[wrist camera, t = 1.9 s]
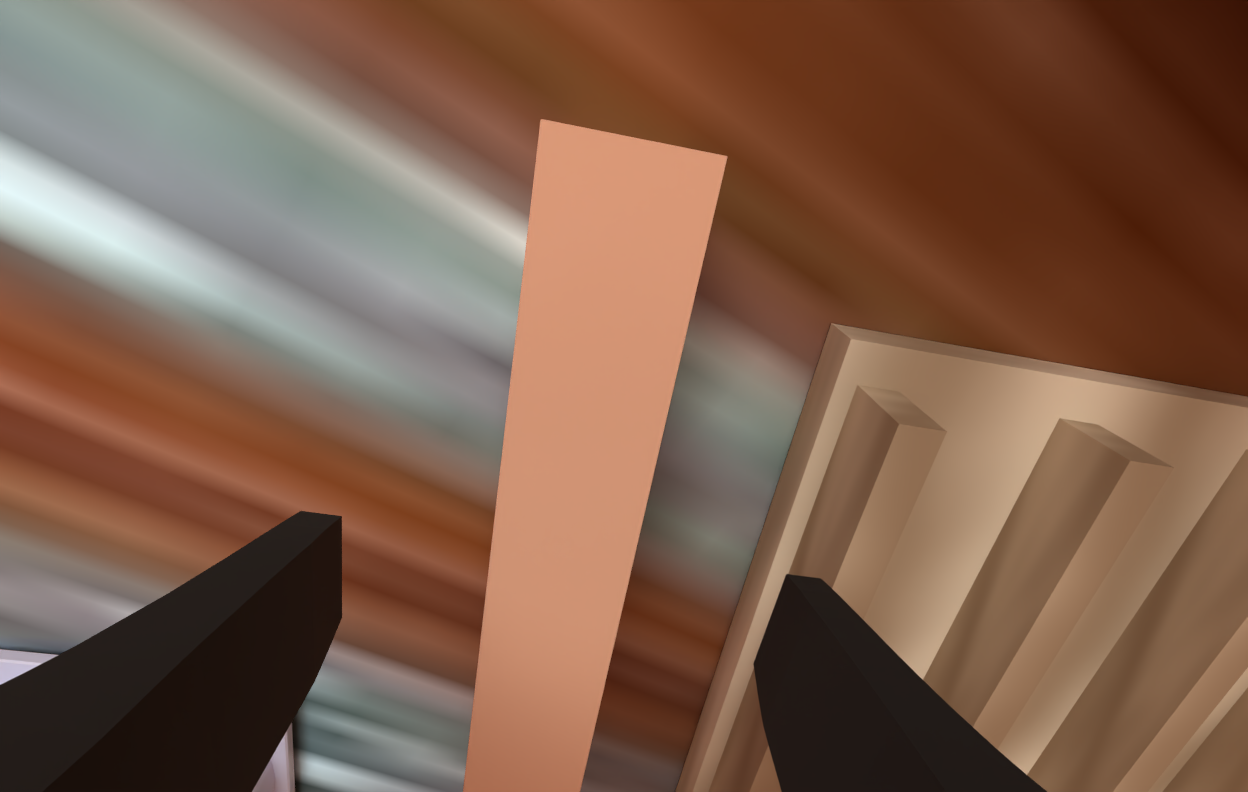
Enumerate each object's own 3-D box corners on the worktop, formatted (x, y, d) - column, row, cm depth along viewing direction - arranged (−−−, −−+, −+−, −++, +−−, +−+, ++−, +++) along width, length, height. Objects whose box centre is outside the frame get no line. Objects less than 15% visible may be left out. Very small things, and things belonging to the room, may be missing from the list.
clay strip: (497, 635, 18) (461, 810, 13) (562, 127, 12) (540, 118, 8) (580, 644, 18) (573, 818, 13) (680, 150, 12) (727, 156, 8)
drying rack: (668, 811, 21) (680, 921, 18) (831, 323, 14) (893, 372, 11) (1102, 845, 23) (1177, 951, 20) (1435, 429, 16) (1628, 496, 13)
